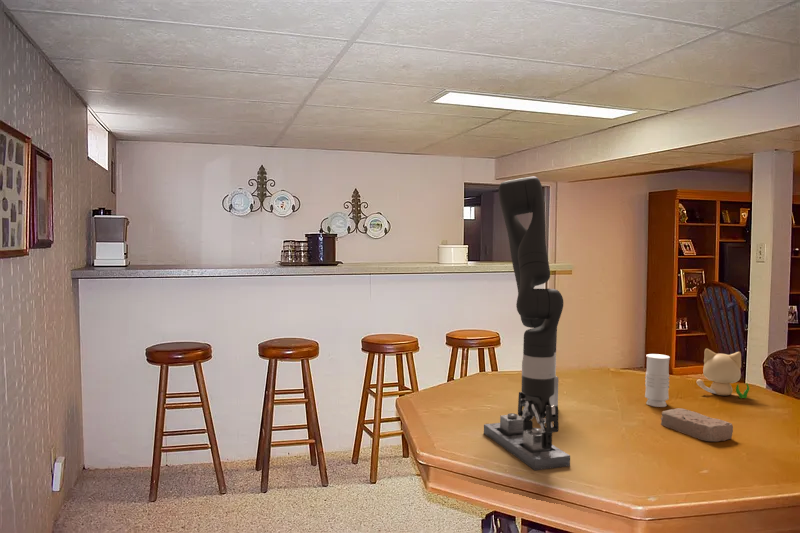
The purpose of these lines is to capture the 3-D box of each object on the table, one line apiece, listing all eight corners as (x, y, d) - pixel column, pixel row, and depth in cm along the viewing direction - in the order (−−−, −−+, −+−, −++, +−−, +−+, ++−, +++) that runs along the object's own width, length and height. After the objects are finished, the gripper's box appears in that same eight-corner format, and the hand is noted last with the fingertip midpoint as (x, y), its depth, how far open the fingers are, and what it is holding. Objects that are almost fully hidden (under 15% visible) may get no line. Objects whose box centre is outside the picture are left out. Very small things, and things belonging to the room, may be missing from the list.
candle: (644, 405, 187) (645, 357, 186) (644, 400, 193) (646, 353, 192) (668, 408, 184) (670, 359, 183) (668, 402, 191) (669, 355, 190)
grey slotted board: (514, 430, 163) (514, 421, 163) (570, 466, 138) (570, 455, 138) (483, 433, 160) (483, 424, 160) (534, 470, 135) (535, 459, 135)
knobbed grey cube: (515, 436, 158) (516, 411, 157) (524, 442, 153) (524, 416, 153) (499, 438, 156) (500, 412, 156) (508, 444, 152) (508, 418, 151)
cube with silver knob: (539, 453, 146) (540, 425, 146) (549, 459, 142) (550, 431, 141) (523, 455, 145) (523, 427, 144) (532, 461, 140) (533, 433, 140)
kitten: (749, 394, 201) (751, 349, 200) (747, 401, 192) (749, 354, 191) (699, 388, 209) (701, 344, 208) (695, 394, 200) (697, 349, 199)
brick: (658, 425, 169) (659, 408, 168) (681, 422, 172) (681, 405, 172) (710, 445, 153) (711, 427, 153) (734, 441, 157) (734, 423, 156)
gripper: (569, 379, 137) (567, 451, 137) (536, 366, 150) (535, 431, 151) (539, 382, 134) (538, 454, 135) (509, 368, 148) (508, 434, 149)
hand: (536, 442), depth 143 cm, fingers open, 8 cm apart
